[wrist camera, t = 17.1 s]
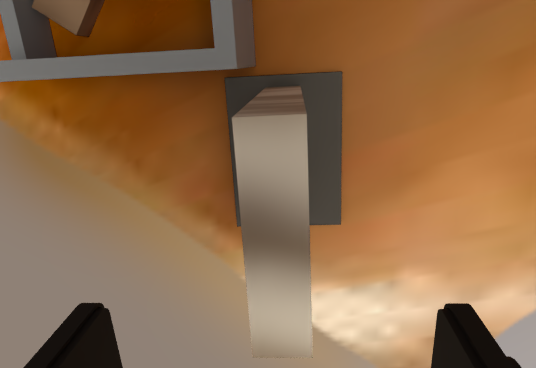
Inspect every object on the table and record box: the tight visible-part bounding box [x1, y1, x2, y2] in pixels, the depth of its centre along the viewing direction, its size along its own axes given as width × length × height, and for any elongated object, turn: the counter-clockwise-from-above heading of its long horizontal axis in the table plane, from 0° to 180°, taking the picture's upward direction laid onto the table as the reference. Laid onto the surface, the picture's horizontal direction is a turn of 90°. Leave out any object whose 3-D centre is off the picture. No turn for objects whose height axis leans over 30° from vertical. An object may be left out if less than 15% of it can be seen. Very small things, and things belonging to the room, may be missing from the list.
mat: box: [225, 72, 342, 227], centre depth 34 cm, size 14×10×1 cm
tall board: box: [232, 86, 313, 358], centre depth 25 cm, size 12×3×18 cm, turn 3°
